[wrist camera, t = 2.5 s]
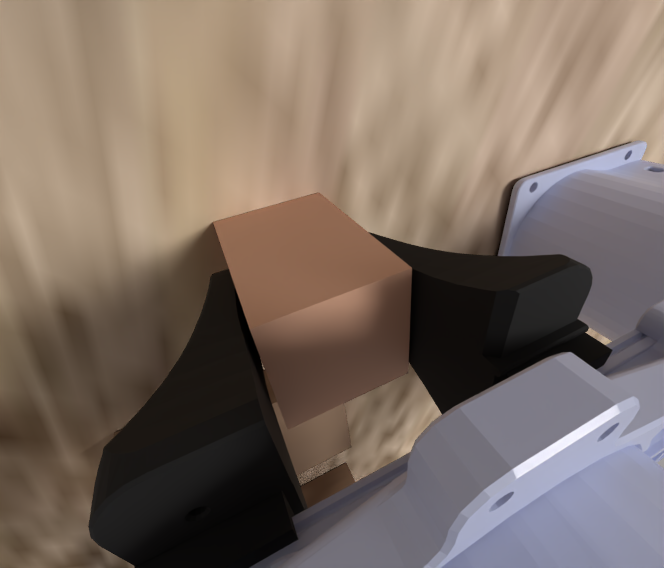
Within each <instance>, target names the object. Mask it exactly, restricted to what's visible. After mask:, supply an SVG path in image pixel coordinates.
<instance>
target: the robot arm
mask: <svg viewBox="0 0 664 568" xmlns="http://www.w3.org/2000/svg"><path fill="white" fill-rule="evenodd" d="M646 147H647V143H646V142H645V141H635V142H632V143H628V144H625V145H622V146H619V147H616V148H613V149H610V150H607V151H604V152H601V153H598V154H595V155H592V156H589V157H586V158H582V159H579V160H576V161H573V162H570V163H567V164H564V165H561V166H558V167H555V168H552V169H549V170H546V171H543V172H540V173H536V174H533V175H530V176H527V177H524V178H522V179H520V180H518V181H517V182H516V184H515V185H514V187H513V190H512V194H511V199H510V203H509V208H508V212H507V217H506V221H505V226H504V230H503V235H502V239H501V244H500V248H499V253H498V256H483V255H471V254H460V253H452V252H445V251H439V250H433V249H428V248H424V247H419V246H415V245H411V244H407V243H403V242H400V241H396V240H393V239H389V238H386V237H383V236H379V235H376V234H373V233H370V232H368V233H370V234H371V235H372V236H373V237H375V238H376V239H377V240H378V241H379V242H381V243H382V244H383V245H384V246H386V247H387V248H388V249H389V250H391V251H392V252H393V253H394V254H396V255H397V256H398V257H399V258H400V259H402V260H403V261H404V262H405V263H407V264H408V265H409V266H410V267H412V284H411V312H410V340H409V363H410V364H411V366H412V367H413V369H414V370H415V372H416V373H417V375H418V376H419V378H420V379H421V381H422V382H423V384H424V386H425V387H426V389H427V390H428V392H429V394H430V395H431V397H432V399H433V400H434V402H435V403H436V405H437V407H438V408H439V410H440V412H441V413H442V415H441V416H440V417H438V418H437V419H435V420H434V421H432V423H431V424H430V425H429V426H428V427H427V428H426V429H425V430H424V431H423V432H422V433H421V435H420V436H419V437H418V438H417V439H416V440H415V443H414V445H413V447H412V450H411V452H410V453H408V454H406V455H404V456H403V457H401V458H399V459H397V460H395V461H393V462H392V463H390V464H388V465H386V466H384V467H382V468H381V469H379V470H377V471H375V472H373V473H372V474H370V475H368V476H366V477H364V478H362V479H361V480H359V481H357V482H355V483H353V484H352V485H350V486H348V487H346V488H344V489H342V490H341V491H339V492H337V493H335V494H333V495H331V496H330V497H328V498H326V499H324V500H322V501H321V502H319V503H317V504H315V505H313V506H311V507H310V508H308V507H307V504H306V501H305V498H304V495H303V493H302V490H301V487H300V484H299V481H298V478H297V475H296V472H295V470H294V467H293V464H292V461H291V458H290V455H289V452H288V449H287V446H286V444H285V441H284V438H283V435H282V432H281V429H280V426H279V423H278V420H277V417H276V414H275V411H274V408H273V406H272V403H271V400H270V396H269V393H268V389H267V385H266V381H265V376H264V372H263V367H262V363H261V359H260V355H259V353H258V350H257V347H256V345H255V342H254V339H253V337H252V334H251V331H250V329H249V326H248V323H247V320H246V317H245V314H244V311H243V308H242V305H241V303H240V300H239V297H238V294H237V291H236V288H235V285H234V282H233V279H232V276H231V273H230V270H229V269H227V270H224V271H220V272H217V273H214V274H212V276H211V277H210V283H209V288H208V292H207V296H206V300H205V303H204V306H203V309H202V312H201V315H200V317H199V320H198V322H197V324H196V327H195V329H194V332H193V334H192V336H191V338H190V340H189V342H188V344H187V346H186V348H185V349H184V351H183V353H182V355H181V356H180V358H179V360H178V361H177V363H176V364H175V366H174V367H173V369H172V370H171V372H170V373H169V375H168V376H167V378H166V379H165V380H164V382H163V383H162V384H161V386H160V387H159V388H158V389H157V391H156V392H155V393H154V394H153V396H152V397H151V398H150V399H149V400H148V402H147V403H146V404H145V405H144V406H143V407H142V408H141V410H140V411H139V412H138V413H137V414H136V415H135V416H134V417H133V418H132V419H131V420H130V421H129V422H128V423H127V425H126V426H125V427H124V428H123V429H122V430H121V431H120V432H119V433H118V434H117V435H116V436H115V437H114V438H113V439H112V440H111V441H110V442H109V443H108V444H107V445H106V446H105V447H104V449H103V454H102V458H101V461H100V464H99V468H98V472H97V477H96V481H95V487H94V494H93V500H92V507H91V514H90V520H89V531H90V536H91V538H92V539H93V540H94V541H95V542H96V543H97V544H98V545H99V546H101V547H103V548H104V549H106V550H108V551H110V552H111V553H113V554H115V555H117V556H118V557H120V558H122V559H124V560H125V561H127V562H129V563H131V564H132V565H134V566H135V568H664V468H662V467H661V466H660V465H659V464H657V462H659V461H660V460H661V459H662V458H664V164H659V163H654V162H649V161H644V160H641V159H642V156H643V154H644V152H645V150H646ZM589 327H590V328H591V329H593V330H595V331H596V332H598V333H599V334H601V335H603V336H604V337H606V338H608V339H609V340H611V341H612V342H610V343H609V344H607V345H604V344H602V343H601V342H599V341H598V340H596V339H594V338H593V337H591V336H590V335H588V334H587V333H585V332H587V331H588V329H589Z"/></svg>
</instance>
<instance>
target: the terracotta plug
mask: <svg viewBox="0 0 664 568" xmlns="http://www.w3.org/2000/svg"><path fill="white" fill-rule="evenodd" d="M213 224H214V227H215V229H216V232H217V235H218V238H219V241H220V244H221V247H222V250H223V253H224V256H225V259H226V262H227V265H228V267H229V270H230V273H231V276H232V279H233V282H234V285H235V288H236V291H237V294H238V297H239V300H240V303H241V305H242V308H243V311H244V314H245V317H246V320H247V323H248V326H249V329H250V331H251V334H252V337H253V339H254V342H255V345H256V347H257V350H258V353H259V355H260V358H261V360H262V363H263V366H264V368H265V371H266V374H267V376H268V379H269V382H270V384H271V387H272V389H273V392H274V395H275V397H276V400H277V403H278V405H279V408H280V410H281V413H282V416H283V418H284V421H285V424H286V426H287V429H288V430H289V429H291V428H293V427H295V426H297V425H299V424H301V423H303V422H306V421H308V420H310V419H312V418H314V417H316V416H318V415H320V414H322V413H325V412H327V411H329V410H331V409H333V408H335V407H337V406H339V405H341V404H344V403H346V402H348V401H350V400H352V399H354V398H356V397H358V396H360V395H363V394H365V393H367V392H369V391H371V390H373V389H375V388H377V387H379V386H382V385H384V384H386V383H388V382H390V381H392V380H394V379H396V378H398V377H401V376H403V375H405V374H407V373H408V368H409V340H410V312H411V284H412V267H410V266H409V265H408V264H407V263H405V262H404V261H403V260H402V259H400V258H399V257H398V256H397V255H396V254H394V253H393V252H392V251H391V250H389V249H388V248H387V247H386V246H384V245H383V244H382V243H381V242H379V241H378V240H377V239H376V238H375V237H373V236H372V235H371V234H370V233H368V232H367V231H366V230H365V229H363V228H362V227H361V226H360V225H358V224H357V223H356V222H355V221H353V220H352V219H351V218H350V217H349V216H347V215H346V214H345V213H344V212H342V211H341V210H340V209H339V208H337V207H336V206H335V205H334V204H332V203H331V202H330V201H329V200H328V199H326V198H325V197H324V196H323V195H321V194H320V193H315V194H311V195H308V196H304V197H301V198H297V199H294V200H290V201H287V202H283V203H279V204H276V205H272V206H269V207H265V208H262V209H258V210H255V211H251V212H247V213H244V214H240V215H237V216H233V217H230V218H226V219H223V220H219V221H215V222H213Z"/></svg>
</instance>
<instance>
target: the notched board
mask: <svg viewBox="0 0 664 568" xmlns="http://www.w3.org/2000/svg"><path fill="white" fill-rule="evenodd" d="M263 372H264V376H265V381H266V385H267V389H268V393H269V396H270V400H271V403H272V406H273V408H274V411H275V414H276V417H277V420H278V423H279V426H280V429H281V432H282V435H283V438H284V441H285V444H286V446H287V449H288V452H289V455H290V458H291V461H292V464H293V467H294V470H295V472H296V475H298V474H300V473H302V472H304V471H306V470H308V469H310V468H312V467H314V466H316V465H318V464H320V463H322V462H324V461H326V460H327V459H329V458H331V457H333V456H335V455H337V454H339V453H341V452H343V451H345V450H347V449H349V448H351V441H350V435H349V429H348V423H347V417H346V411H345V405H344V404H341V405H339V406H337V407H335V408H333V409H331V410H329V411H327V412H325V413H322V414H320V415H318V416H316V417H314V418H312V419H310V420H308V421H306V422H303V423H301V424H299V425H297V426H295V427H293V428H291V429H289V430H288V429H287V426H286V424H285V421H284V418H283V416H282V413H281V410H280V408H279V405H278V403H277V400H276V397H275V395H274V392H273V389H272V387H271V384H270V382H269V379H268V376H267V374H266V371H265V370H264V371H263ZM120 431H121V430H120ZM120 431H117V432H115V433H114V437H115V436H116V435H117V434H118V433H119V432H120ZM353 483H355V480H354V478H353V476H352V474H351V472H350V470H349V468H348V465H347V463H344V464H342V465H341V466H339V467H337V468H335V469H333V470H331V471H329V472H327V473H325V474H323V475H322V476H320V477H318V478H316V479H314V480H312V481H310V482H308V483H306V484H304V485H303V486H301V490H302V493H303V495H304V498H305V501H306V504H307V507H308V508H310V507H311V506H313V505H315V504H317V503H319V502H321V501H322V500H324V499H326V498H328V497H330V496H331V495H333V494H335V493H337V492H339V491H341V490H342V489H344V488H346V487H348V486H350V485H352V484H353Z"/></svg>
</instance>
